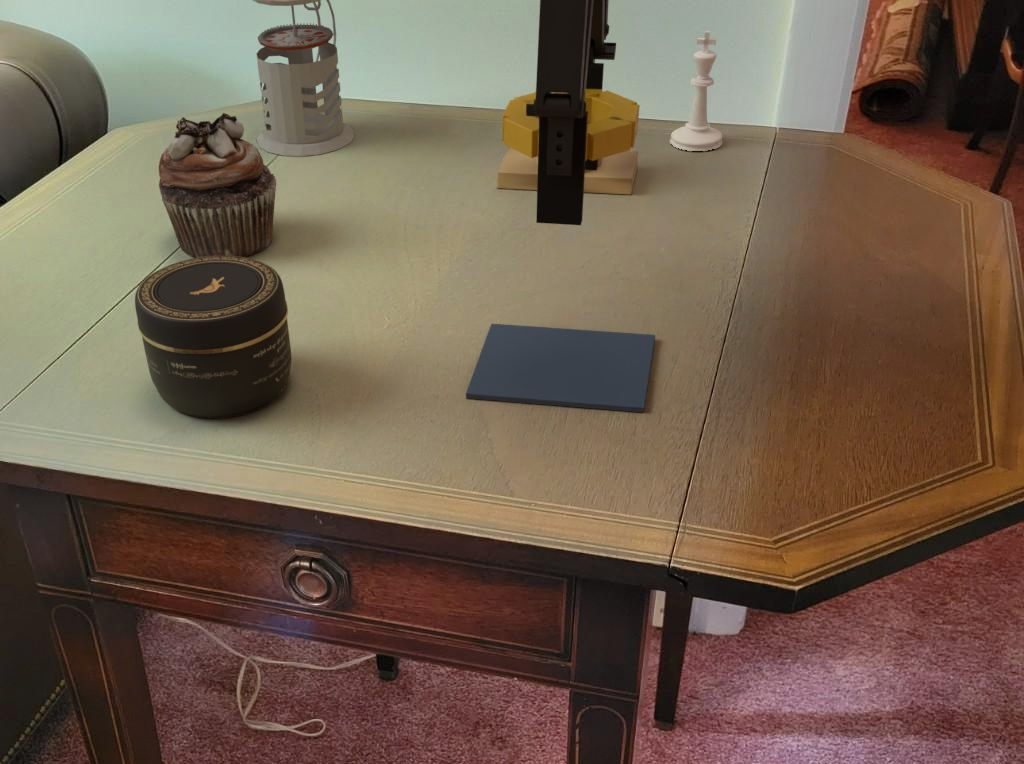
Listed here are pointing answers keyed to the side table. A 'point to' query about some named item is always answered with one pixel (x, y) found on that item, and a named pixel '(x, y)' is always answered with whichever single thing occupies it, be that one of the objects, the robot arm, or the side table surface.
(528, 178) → the stand
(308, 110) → the french press
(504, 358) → the mat
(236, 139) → the cupcake
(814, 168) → the side table surface
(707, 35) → the chess piece
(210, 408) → the jar
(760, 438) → the side table surface
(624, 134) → the ring
